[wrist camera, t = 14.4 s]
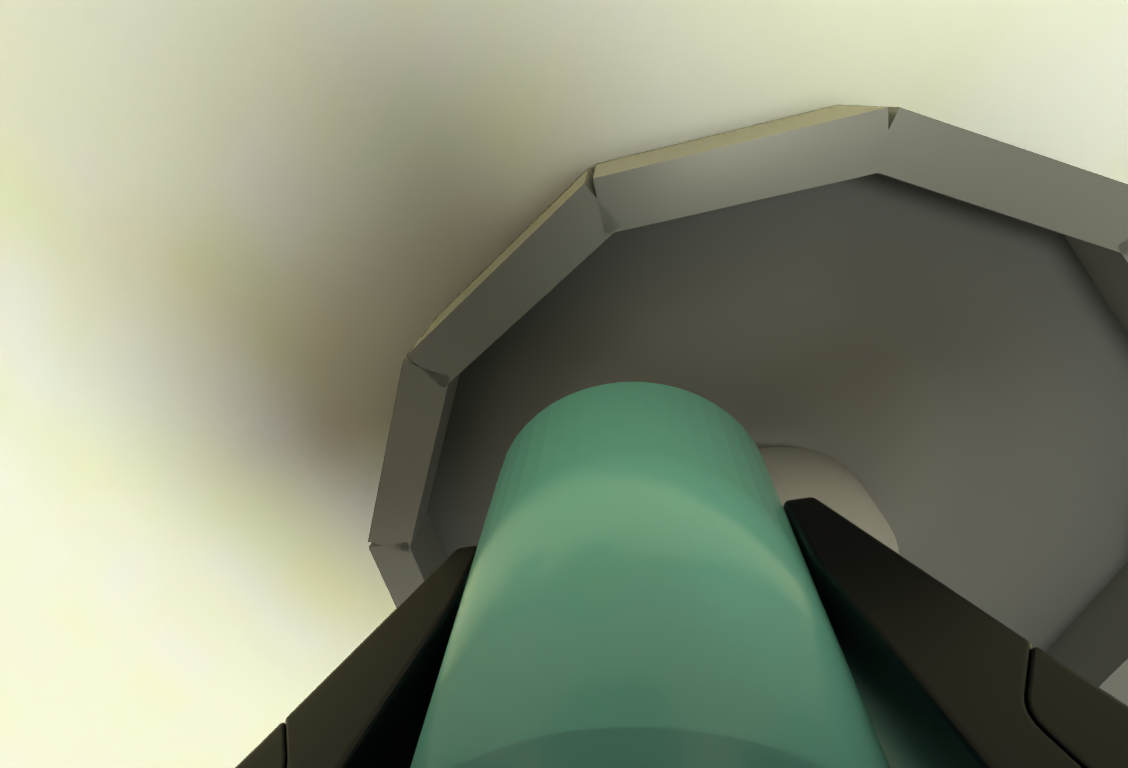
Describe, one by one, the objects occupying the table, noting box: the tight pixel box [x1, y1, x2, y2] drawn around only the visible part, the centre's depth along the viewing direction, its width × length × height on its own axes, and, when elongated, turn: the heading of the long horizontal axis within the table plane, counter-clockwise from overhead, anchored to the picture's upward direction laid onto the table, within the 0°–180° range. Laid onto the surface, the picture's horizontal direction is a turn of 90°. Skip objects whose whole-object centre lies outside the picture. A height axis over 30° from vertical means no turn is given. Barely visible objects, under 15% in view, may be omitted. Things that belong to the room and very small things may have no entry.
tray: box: [368, 105, 1128, 705], centre depth 15 cm, size 19×19×2 cm
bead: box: [410, 382, 890, 768], centre depth 7 cm, size 4×4×6 cm
